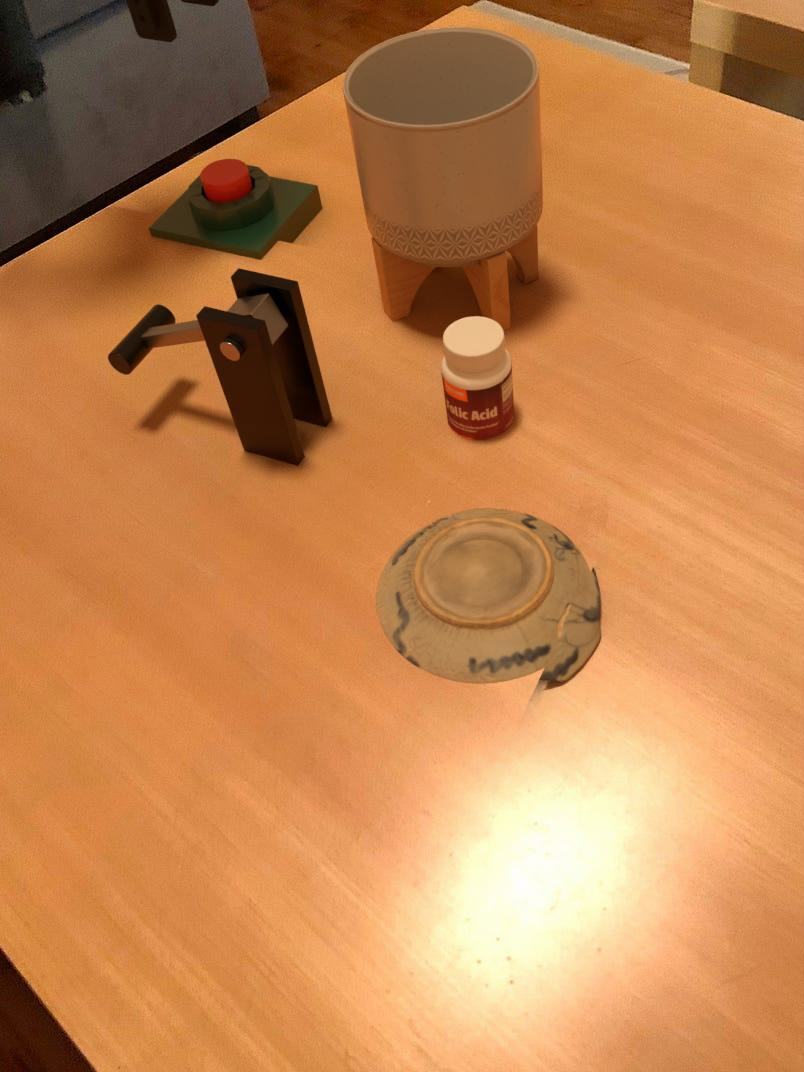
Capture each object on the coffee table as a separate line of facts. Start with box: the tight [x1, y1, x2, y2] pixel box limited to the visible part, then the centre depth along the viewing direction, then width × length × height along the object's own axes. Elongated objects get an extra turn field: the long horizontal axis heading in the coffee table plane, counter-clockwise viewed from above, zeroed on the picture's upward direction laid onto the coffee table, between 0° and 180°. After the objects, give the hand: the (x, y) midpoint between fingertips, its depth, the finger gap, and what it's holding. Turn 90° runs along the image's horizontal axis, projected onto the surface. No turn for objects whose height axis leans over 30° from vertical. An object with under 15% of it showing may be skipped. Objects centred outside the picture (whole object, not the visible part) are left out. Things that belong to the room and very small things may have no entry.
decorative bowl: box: [375, 507, 602, 685], centre depth 64 cm, size 15×4×15 cm
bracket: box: [195, 267, 333, 467], centre depth 69 cm, size 12×9×13 cm
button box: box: [148, 164, 323, 261], centre depth 89 cm, size 11×10×4 cm
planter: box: [342, 26, 544, 332], centre depth 76 cm, size 13×13×18 cm
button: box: [199, 158, 253, 203], centre depth 87 cm, size 4×4×2 cm
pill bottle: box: [440, 315, 516, 441], centre depth 71 cm, size 5×5×8 cm
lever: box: [107, 293, 288, 376], centre depth 69 cm, size 13×6×2 cm, turn 66°
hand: (178, 17), depth 77 cm, fingers open, 4 cm apart
